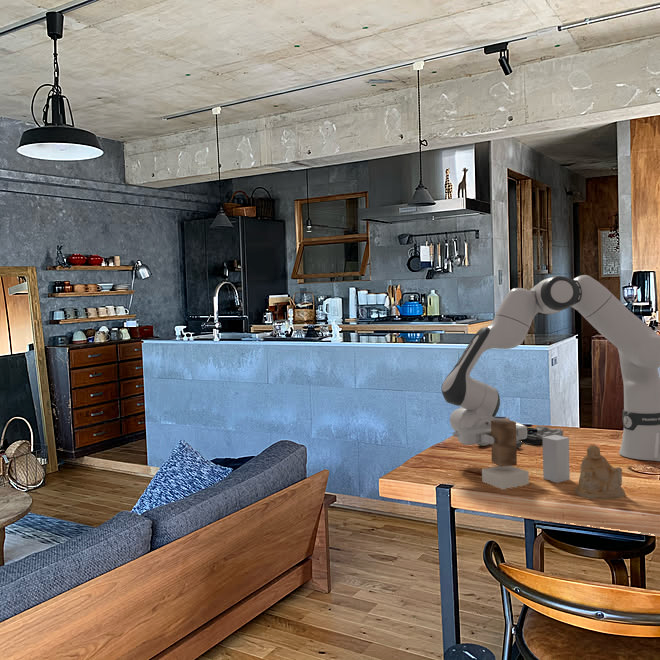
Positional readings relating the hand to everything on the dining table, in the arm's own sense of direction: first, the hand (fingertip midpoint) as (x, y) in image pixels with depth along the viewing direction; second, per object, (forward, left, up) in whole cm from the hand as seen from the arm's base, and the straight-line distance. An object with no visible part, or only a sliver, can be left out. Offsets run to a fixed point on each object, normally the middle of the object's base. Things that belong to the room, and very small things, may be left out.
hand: (505, 439), depth 186 cm
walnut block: (0, -1, -7) cm, 7 cm away
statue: (-18, +16, -13) cm, 27 cm away
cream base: (0, -1, -13) cm, 13 cm away
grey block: (-15, +1, -13) cm, 20 cm away
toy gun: (-29, -42, -13) cm, 52 cm away
